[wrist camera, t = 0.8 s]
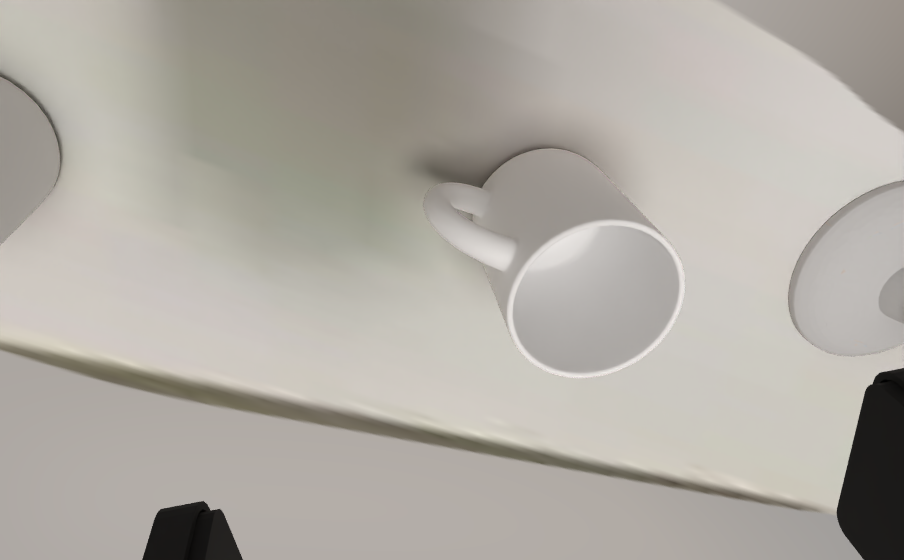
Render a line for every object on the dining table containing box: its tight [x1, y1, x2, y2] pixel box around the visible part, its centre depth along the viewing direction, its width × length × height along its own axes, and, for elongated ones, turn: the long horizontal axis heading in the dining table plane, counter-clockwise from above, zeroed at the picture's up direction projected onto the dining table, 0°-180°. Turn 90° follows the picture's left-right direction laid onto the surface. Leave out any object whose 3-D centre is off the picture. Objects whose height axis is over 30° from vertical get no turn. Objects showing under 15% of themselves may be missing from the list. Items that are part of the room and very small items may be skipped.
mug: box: [423, 148, 685, 378], centre depth 35 cm, size 12×8×10 cm
